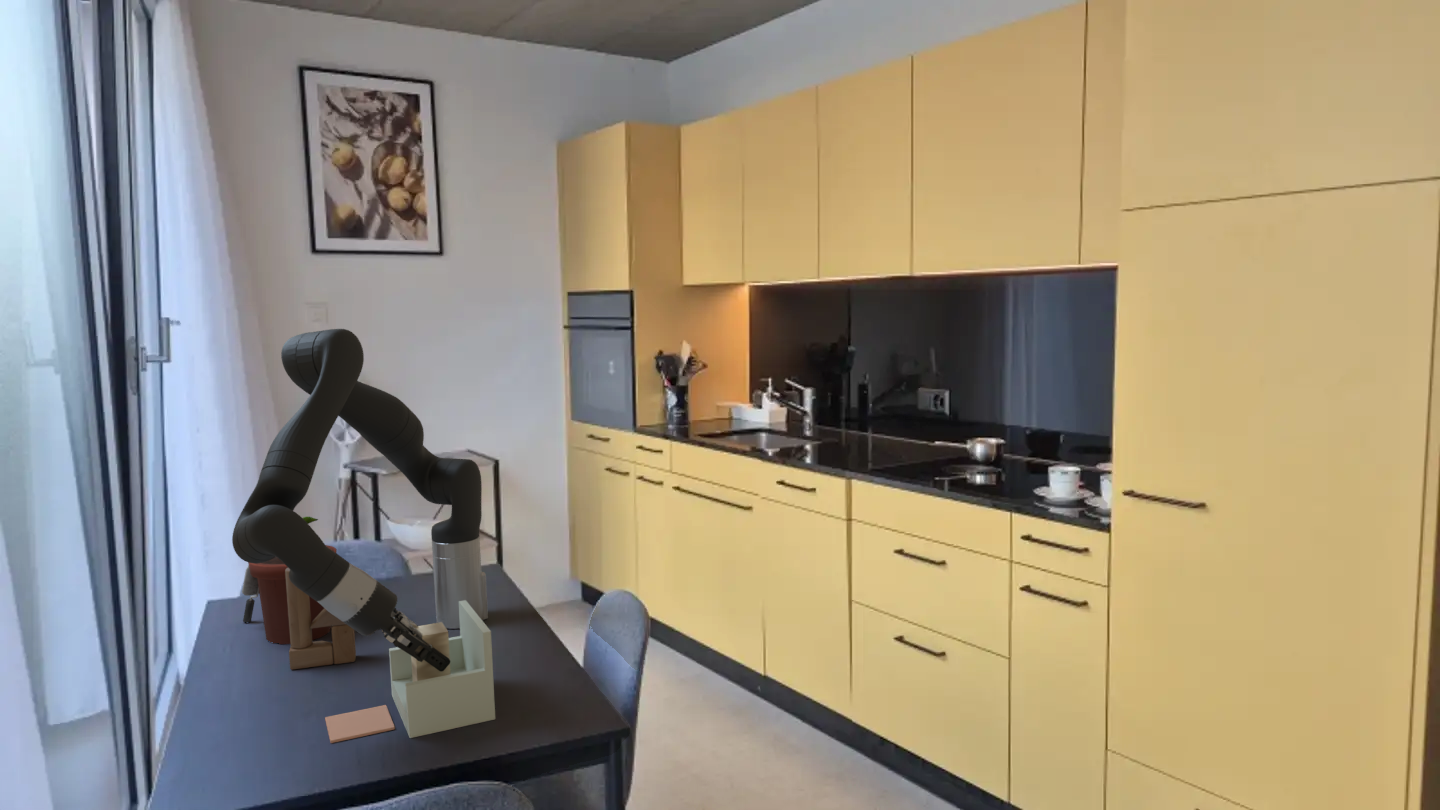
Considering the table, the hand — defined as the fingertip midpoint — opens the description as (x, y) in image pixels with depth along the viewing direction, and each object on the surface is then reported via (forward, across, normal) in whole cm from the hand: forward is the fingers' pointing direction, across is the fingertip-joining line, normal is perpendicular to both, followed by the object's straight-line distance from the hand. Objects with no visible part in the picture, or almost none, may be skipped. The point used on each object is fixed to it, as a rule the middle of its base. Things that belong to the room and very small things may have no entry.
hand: (442, 660), depth 149 cm
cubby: (+5, 0, +6) cm, 8 cm away
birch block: (+2, 0, +5) cm, 5 cm away
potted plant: (-8, +52, +19) cm, 56 cm away
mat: (-4, 0, +14) cm, 15 cm away
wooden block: (-5, +30, +16) cm, 35 cm away
